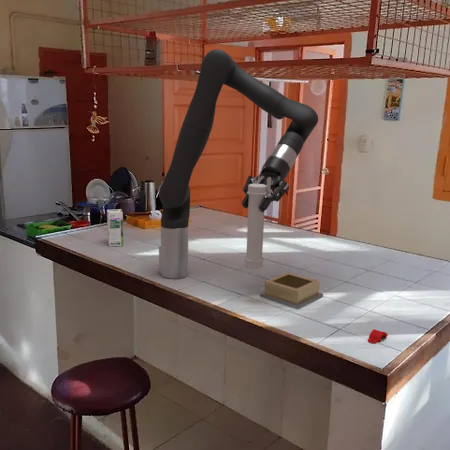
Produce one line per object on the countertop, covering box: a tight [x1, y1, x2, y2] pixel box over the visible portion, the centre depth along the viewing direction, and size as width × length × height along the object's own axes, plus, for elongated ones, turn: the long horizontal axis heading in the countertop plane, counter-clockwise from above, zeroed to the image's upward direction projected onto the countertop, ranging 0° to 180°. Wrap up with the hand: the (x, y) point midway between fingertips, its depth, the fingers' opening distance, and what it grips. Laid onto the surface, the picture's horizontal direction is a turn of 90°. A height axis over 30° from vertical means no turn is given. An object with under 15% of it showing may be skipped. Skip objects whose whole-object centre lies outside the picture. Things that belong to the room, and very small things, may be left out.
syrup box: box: [106, 208, 124, 247], centre depth 204 cm, size 6×6×14 cm
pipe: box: [244, 167, 267, 270], centre depth 144 cm, size 6×6×30 cm
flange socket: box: [259, 271, 324, 310], centre depth 154 cm, size 14×14×5 cm
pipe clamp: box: [367, 329, 388, 345], centre depth 129 cm, size 8×3×2 cm, turn 136°
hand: (252, 208), depth 142 cm, fingers closed on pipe, 5 cm apart
